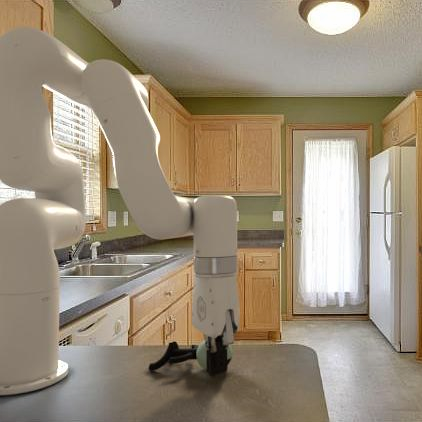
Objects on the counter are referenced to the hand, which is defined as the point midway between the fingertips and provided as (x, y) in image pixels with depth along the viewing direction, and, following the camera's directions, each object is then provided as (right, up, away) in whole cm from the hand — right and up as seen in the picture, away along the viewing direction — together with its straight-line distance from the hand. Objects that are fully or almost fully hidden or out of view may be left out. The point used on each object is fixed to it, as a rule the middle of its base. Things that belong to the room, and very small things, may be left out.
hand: (217, 371), depth 66 cm
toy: (-5, -2, +6) cm, 8 cm away
